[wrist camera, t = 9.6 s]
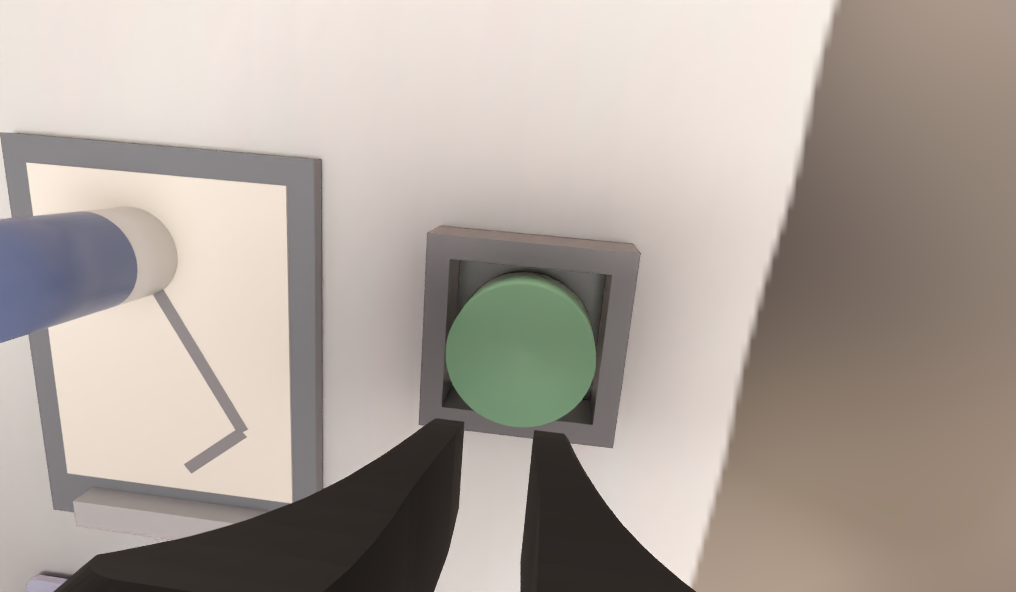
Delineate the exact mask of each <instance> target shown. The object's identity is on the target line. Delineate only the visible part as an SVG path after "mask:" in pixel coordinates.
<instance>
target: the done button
mask: <svg viewBox="0 0 1016 592" xmlns="http://www.w3.org/2000/svg"><path fill="white" fill-rule="evenodd" d="M446 364H447V370H448V373H449V377H450V379H451V381H452V384H453V386H454V388H455V389H456V391H457V393H458V394H459V395H460V397H461V398H462V399H463V401H464V402H465V403H466V404H467V405H468V406H469V407H470V408H472V409H473V410H474V411H475V412H477V413H478V414H480V415H481V416H483V417H485V418H486V419H489V420H491V421H493V422H496V423H499V424H502V425H506V426H512V427H535V426H540V425H544V424H547V423H550V422H553V421H555V420H557V419H559V418H561V417H563V416H564V415H566V414H567V413H569V412H570V411H571V410H572V409H574V408H575V407H576V406H577V405H578V404H579V402H580V401H581V400H582V399H583V397H584V396H585V394H586V393H587V391H588V389H589V387H590V385H591V383H592V380H593V377H594V373H595V368H596V349H595V342H594V336H593V330H592V325H591V321H590V318H589V315H588V313H587V311H586V309H585V307H584V305H583V304H582V302H581V301H580V299H579V298H578V297H577V296H576V295H575V294H574V293H573V292H572V291H571V290H570V289H569V288H568V287H566V286H565V285H564V284H562V283H561V282H559V281H557V280H555V279H553V278H551V277H549V276H545V275H542V274H538V273H532V272H515V273H509V274H505V275H501V276H499V277H496V278H494V279H492V280H490V281H488V282H487V283H485V284H484V285H482V286H481V287H480V288H479V289H478V290H476V291H475V292H474V293H473V295H472V296H471V297H470V298H469V300H468V301H467V302H466V304H465V305H464V307H463V308H462V310H461V311H460V313H459V314H458V316H457V318H456V319H455V321H454V323H453V324H452V327H451V329H450V332H449V335H448V339H447V344H446Z"/></svg>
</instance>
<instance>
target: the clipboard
mask: <svg viewBox="0 0 1016 592" xmlns="http://www.w3.org/2000/svg"><path fill="white" fill-rule="evenodd" d="M0 138H1V145H2V152H3V159H4V166H5V173H6V180H7V187H8V194H9V201H10V208H11V215H12V218H17V217H27V216H37V215H47V214H57V213H67V212H77V211H88V210H98V209H108V208H118V207H135V208H139V209H142V210H144V211H147V212H149V213H150V214H152V215H153V216H155V217H156V218H157V219H159V220H160V221H161V222H162V223H163V225H164V226H165V227H166V228H167V230H168V231H169V233H170V234H171V236H172V238H173V241H174V243H175V247H176V251H177V268H176V272H175V274H174V277H173V279H172V280H171V282H170V283H169V284H168V286H167V287H165V288H164V289H163V290H162V291H160V292H158V293H156V294H153V295H150V296H147V297H143V298H140V299H137V300H134V301H131V302H128V303H125V304H121V305H118V306H115V307H112V308H109V309H106V310H103V311H99V312H96V313H93V314H90V315H87V316H84V317H80V318H77V319H74V320H71V321H68V322H65V323H62V324H58V325H55V326H52V327H49V328H46V329H43V330H40V331H36V332H33V333H30V334H29V341H30V348H31V355H32V362H33V368H34V375H35V382H36V389H37V396H38V403H39V410H40V417H41V424H42V431H43V438H44V445H45V452H46V459H47V466H48V473H49V480H50V487H51V494H52V501H53V508H54V510H61V511H69V512H74V513H75V520H76V526H79V527H86V528H93V529H100V530H107V531H114V532H121V533H128V534H135V535H143V536H150V537H157V538H164V539H171V540H176V539H180V538H184V537H188V536H192V535H196V534H200V533H204V532H207V531H211V530H215V529H218V528H222V527H225V526H228V525H232V524H235V523H238V522H241V521H245V520H248V519H251V518H253V517H256V516H259V515H261V514H264V513H267V512H269V511H272V510H275V509H277V508H280V507H283V506H285V505H288V504H291V503H293V502H296V501H298V500H301V499H303V498H305V497H307V496H310V495H312V494H314V493H316V492H318V491H320V490H322V246H321V159H309V158H298V157H286V156H274V155H263V154H251V153H240V152H228V151H216V150H205V149H193V148H182V147H170V146H158V145H147V144H135V143H124V142H112V141H100V140H89V139H77V138H66V137H54V136H42V135H31V134H19V133H0Z"/></svg>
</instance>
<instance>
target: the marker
mask: <svg viewBox="0 0 1016 592" xmlns="http://www.w3.org/2000/svg"><path fill="white" fill-rule="evenodd" d="M176 268H177V251H176V247H175V243H174V241H173V238H172V236H171V234H170V233H169V231H168V230H167V228H166V227H165V226H164V225H163V223H162V222H161V221H160V220H159V219H157V218H156V217H155V216H153V215H152V214H150V213H149V212H147V211H144V210H142V209H139V208H135V207H118V208H108V209H98V210H88V211H77V212H67V213H57V214H47V215H37V216H27V217H17V218H7V219H0V343H2V342H5V341H8V340H11V339H14V338H18V337H21V336H24V335H27V334H30V333H33V332H36V331H40V330H43V329H46V328H49V327H52V326H55V325H58V324H62V323H65V322H68V321H71V320H74V319H77V318H80V317H84V316H87V315H90V314H93V313H96V312H99V311H103V310H106V309H109V308H112V307H115V306H118V305H121V304H125V303H128V302H131V301H134V300H137V299H140V298H143V297H147V296H150V295H153V294H156V293H158V292H160V291H162V290H163V289H164V288H165V287H167V286H168V284H169V283H170V282H171V280H172V279H173V277H174V274H175V272H176Z"/></svg>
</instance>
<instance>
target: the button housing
mask: <svg viewBox="0 0 1016 592" xmlns="http://www.w3.org/2000/svg"><path fill="white" fill-rule="evenodd" d="M640 254H641V253H640V252H639V251H638V249H637V248H636V247H635V246H634V244H628V243H618V242H607V241H596V240H586V239H575V238H564V237H554V236H543V235H532V234H522V233H511V232H500V231H490V230H479V229H468V228H458V227H447V226H439V227H437V228H435V229H434V230H432V231H430V232H428V233H427V250H426V272H425V295H424V318H423V340H422V363H421V386H420V408H419V425H426V424H428V423H429V422H431V421H432V420H434V419H435V418H438V419H447V420H455V421H463V422H464V430H466V431H475V432H483V433H491V434H499V435H508V436H516V437H524V438H532V439H533V436H534V430H538V431H547V432H555V433H563V434H565V435H566V437H567V438H568V439H569V442H570V443H573V444H582V445H590V446H598V447H606V448H613V444H614V437H615V430H616V423H617V416H618V409H619V402H620V395H621V388H622V381H623V374H624V367H625V359H626V352H627V345H628V338H629V331H630V324H631V317H632V310H633V303H634V296H635V289H636V282H637V275H638V268H639V261H640ZM460 260H464V261H474V262H484V263H494V264H505V265H515V266H525V267H535V268H545V269H555V270H566V271H576V272H586V273H596V274H606V281H605V289H604V297H603V305H602V313H601V321H600V328H599V336H598V344H597V352H596V368H595V373H594V377H593V383H592V391H591V399H590V401H587V400H581V401H580V402H579V404H578V405H577V406H576V407H575V408H574V409H572V410H571V411H570V412H569V413H567V414H566V415H564V416H563V417H561V418H559V419H557V420H555V421H553V422H550V423H547V424H544V425H540V426H535V427H512V426H506V425H502V424H499V423H496V422H493V421H491V420H489V419H486V418H485V417H483V416H481V415H480V414H478V413H477V412H475V411H474V410H473V409H472V408H470V407H469V406H468V405H467V404H466V403H465V402H464V401H463V399H462V398H461V397H460V395H459V394H458V393H457V391H456V389H455V388H454V386H453V385H452V381H451V379H450V377H449V373H448V370H447V364H446V344H447V339H448V335H449V332H450V329H451V327H452V324H453V323H454V321H455V319H456V316H457V299H458V283H459V266H460Z"/></svg>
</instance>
